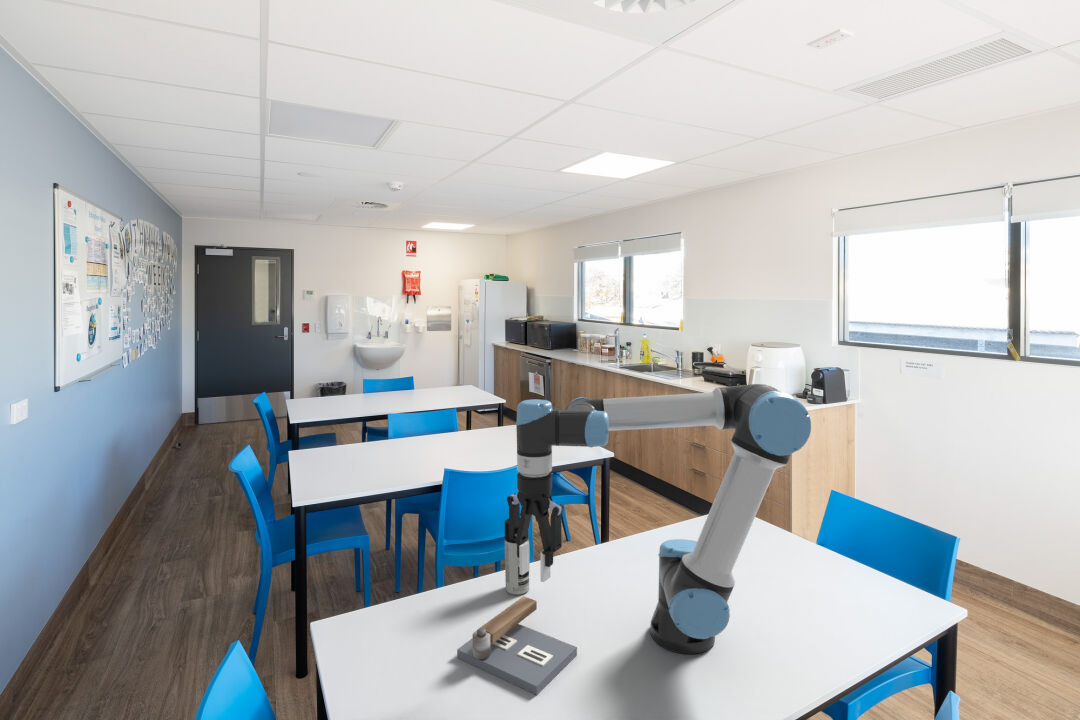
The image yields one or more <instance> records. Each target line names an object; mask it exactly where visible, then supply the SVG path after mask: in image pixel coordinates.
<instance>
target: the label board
mask: <svg viewBox="0 0 1080 720" xmlns="http://www.w3.org/2000/svg"><path fill="white" fill-rule="evenodd" d="M456 652H457V653H456V654H457V659H460V660H461V661H464V662H465V663H467V664H470V665H472V666H474V667H476V668H479V669H480V670H483V671H485V672H486V673H489V674H491V675H493V676H495V677H497V678H498V679H499V678H500V679H502V680H504V681H505V682H508V683H510V684H512V685H514V686H515V687H518V688H520V689H522V690H525V691H526V692H528V693H531V694H533V695H535V696H538V695H539V694H540V693H541V691H543V690H544V689H545V688H546V687H547V686H548V685H549V684H550V683H551V682H552V681H553V680H554V679H555V677H557V676H558V675H559V674H560V673H561V672H562V671H563V670H564V669H565V668H566V667H567V666H568V665H569V664H570V663H572V661H573V660H574V659H575V658H576V657H577V656H578V646H576V645H572V644H570V643H569V642H568V643H567V642H565V641H562V640H560V639H558V638H555V637H552V636H550V635H548V634H546V633H545V634H544V633H542V632H540V631H537V630H535V629H532V628H531V627H530V628H529V627H528V626H525V625H522V624H521V623H518V624H517V625H516V626H515V627H513V628H512V629H511V630H510V631H508V632H507V633H506V634H504V635H503V636H502V637H501V638H499V639H498V640H497V641H495V642H494V643H491V654H490V656H489V657H487V658H485V659H477V658H475V657H474V656H473V642H472V638H470V639H469V640H467V641H466V642H465V643H464V644H463V645H461V646H460V647H459V648H457V649H456Z"/></svg>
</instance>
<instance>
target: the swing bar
mask: <svg viewBox="0 0 1080 720" xmlns="http://www.w3.org/2000/svg"><path fill="white" fill-rule="evenodd" d="M537 604H538V603H537V600H536V599H532V598H529V597H527V596H524V595H522V597H520V598H519V599H517V600H515V602H513V603H512V604H510V605H509V606H508V607H506V608H505V609H503V610H502V611H501V612H500V613H498V614H497V615H495V616H494V617H493V618H491V619H489V620H488V621H487V622H486V623H484V624H482V626H480V627H479V628H478V629H476V630H475V631H473V633H472V637H471V639H472V642H473V656H474V657H475V658H477V659H485V658H487V657H489V656H490V654H491V643H494V642H495V641H497V640H498V639H499V638H501V637H502V636H503V635H504V634H506V633H507V632H508V631H510V630H511V629H512V628H513V627H515V626H516V625H517V624H521V622H522V621H524V620H525V619H526V618H527V617H529V616H530V615H532V613H535V611H537V607H538V606H537Z"/></svg>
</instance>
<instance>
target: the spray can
mask: <svg viewBox="0 0 1080 720" xmlns="http://www.w3.org/2000/svg"><path fill="white" fill-rule="evenodd" d="M527 538H528V540H526V541H525V542H529V543H530V541H529V540H530V538H529V533H528V534H527ZM504 565H505V566H504V567H505V568H504V569H505V573H504V574H505V575H504V576H505V591H506V592H507V593H508V594H509V595H514V596H523V595H525V594H526V593H528V592H529V590H530V570H529V571H528V572H526V573H525V574H523V575H520V568H519V558H518V557H517V544H516V542H515V541H514V540H510V539H509V517H507V519H505V520H504Z"/></svg>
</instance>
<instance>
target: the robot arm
mask: <svg viewBox="0 0 1080 720" xmlns="http://www.w3.org/2000/svg"><path fill="white" fill-rule="evenodd" d="M515 425H516V429H515V430H516V470H517V472H518V473H517V474H516V489H517V493H513V494H510V495H509V496H506V501H507V505H508V518H509V539H510V540H514V541H515V542H516V544H517V557H518V558H519V568H520V575H523V574H525V573H526V572H528V571H529V572H530V541H529V542H525V541H526V540H528V538H527V534H529V531H530V530H529V529H530V524H531V519H532V516H534V518H535V521H536V522H537V525H538V529H539V534H540V539H541V546H542V549H543V550H542V551H540V552H539V553H540V558H539V559H540V582H542V583H545V582H546V581H547V580H548V579H550V578H551V566H553V565H554V553H556V552H557V551H559V550H560V549H562V545H563V544H562V540H563V539H562V537H563V535H562V514H563V511H564V509H565V507H564V505H563V504H562V503H561V504H557V503H555V502H554V500H553V497H552V495H551V493H552V491H553V490H552V488H553V474H552V473H551V472H552V471H553V449H552V448H553V447H585V448H586V447H588V448H597V447H606V445H608V443H609V434H610V433H609V432H612V431H625V430H626V431H630V430H632V431H633V430H647V429H649V430H651V429H669V428H671V429H672V428H686V427H687V428H689V427H705V426H706V427H710V426H714V427H716V428H717V429H718V430H734V433H733V435H732V438H731V439H730V443H731V445H732V448H733V451H734V453H733V455H732V457H731V460H730V462H729V464H728V466H727V469H726V471H725V474H724V476H723V478H722V481H721V483H720V486H719V488H718V490H717V493H716V495H715V497H714V501H713V502H712V505H711V507H710V510H709V512H708V515H707V517H706V519H705V522H704V524H703V526H702V529H701V531H700V534H699V536H698V538H697V540H693V539H685V538H675V539H674V538H673V539H669V540H666V541H663V542H662V543H661V544H660V545H659V550H658V551H659V553H658V555H657V556H658V558H659V559H658V561H659V562H658V592H657V593H658V596H657V597H658V599H657V600H658V602H657V603H656V606H655V609H654V612H653V615H652V617H651V620H650V630H649V631H650V636H651V638H652V640H654V642H655V643H656V644H658V645H659V646H661V647H662V648H663V649H666V650H668V651H671V652H673V653H677V654H678V653H679V654H684V655H695V654H702V653H704V652H707V651H709V650H711V649H712V647H713V646H714V645H715V641H716V636H718V635H720V634H721V633H723V631H724V630H726V628H727V626H728V624H729V622H730V615H731V614H730V611H731V609H730V605H729V604H728V602H729V599H730V596H731V595H732V592H733V589H734V588H735V585H736V580H735V578H734V574H733V569H734V566H735V564H736V562H737V560H738V558H739V555H740V553H741V551H742V548H743V547H744V543H745V542H746V539H747V537H748V534H749V532H750V530H751V528H752V526H753V523H754V520H755V519H756V516H757V513H758V512H759V509H760V506H761V505H762V502H763V499H764V498H765V495H766V492H767V490H768V488H769V485H770V483H771V481H772V478H773V476H774V474H775V472H776V470H777V469H779V468H782V467H785V466H788V465H787V464H788V462H789V460H790V458H791V456H792V454H794V453H796V452H798V451H800V450H801V449H802V448H803V447H804V446H805V445H806V444H807V441H809V438H810V435H811V432H812V431H811V430H812V421H811V416H810V414H809V411H808V409H807V408H806V407H805V406H804V404H803V403H802V402H801V401H799V400H798V399H797V398H795V397H794V395H791V394H789V393H787V392H784V391H781V390H778V389H777V388H775V387H773V386H771V385H767V384H763V383H751V384H741V385H732V386H723V387H721V386H720V387H715V388H714V389H713V390H712V391H711V392H697V393H695V392H694V393H681V394H679V393H678V394H661V395H659V394H658V395H646V396H630V397H629V396H628V397H613V398H594V399H593V398H592V399H590V398H587V397H585V396H584V397H581V396H580V397H576V398H574V399H573V400H571V401H570V402H569V403H568V405H567V406H566V409H565V410H557V409H554V408H553V405H552V402H551V401H550V400H546V399H541V398H540V399H535V398H534V399H526V400H525V399H524V400H522V401H521V402H519V403H518V404H517V408H516V422H515ZM549 509H550V511H549Z"/></svg>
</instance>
